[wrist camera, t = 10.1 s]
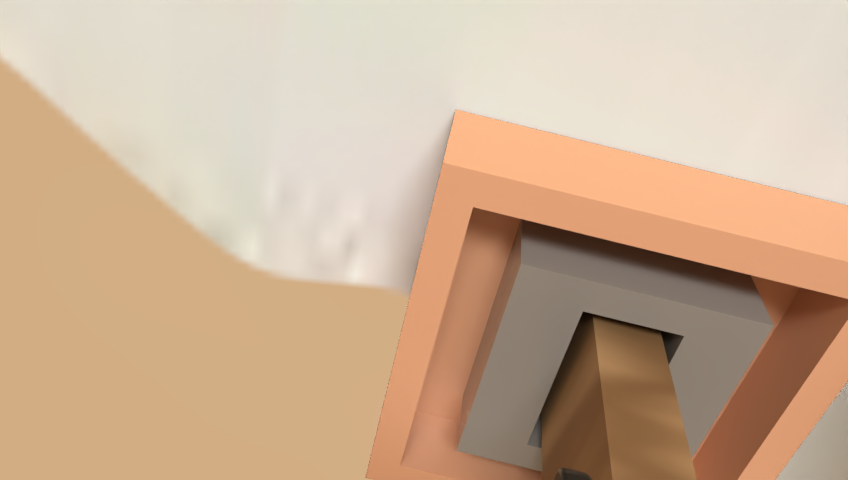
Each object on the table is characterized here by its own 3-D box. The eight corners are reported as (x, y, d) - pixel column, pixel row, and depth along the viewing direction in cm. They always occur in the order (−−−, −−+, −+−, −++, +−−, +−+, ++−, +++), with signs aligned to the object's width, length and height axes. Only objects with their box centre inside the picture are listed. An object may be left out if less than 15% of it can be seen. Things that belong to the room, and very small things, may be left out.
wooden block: (651, 294, 21) (707, 521, 15) (598, 395, 24) (624, 630, 17) (587, 276, 21) (614, 496, 15) (540, 379, 24) (544, 608, 17)
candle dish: (864, 209, 20) (921, 279, 17) (693, 478, 27) (714, 562, 24) (455, 109, 20) (442, 162, 17) (383, 402, 27) (365, 477, 24)
